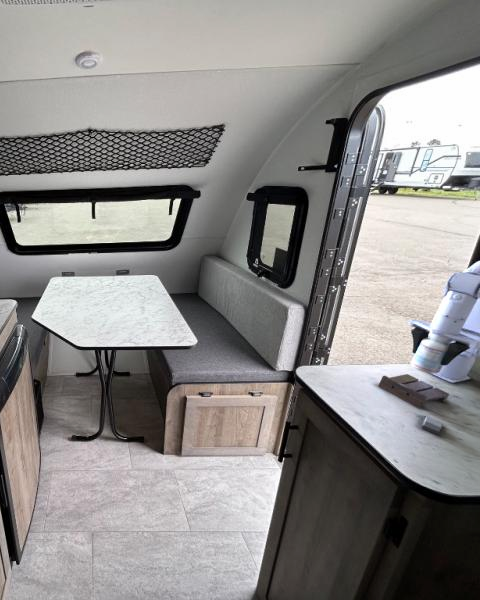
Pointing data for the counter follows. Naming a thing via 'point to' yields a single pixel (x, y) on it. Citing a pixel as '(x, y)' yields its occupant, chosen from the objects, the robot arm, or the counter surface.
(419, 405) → the brown slab
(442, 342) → the pill bottle
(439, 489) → the counter surface
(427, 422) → the grey faceted block
